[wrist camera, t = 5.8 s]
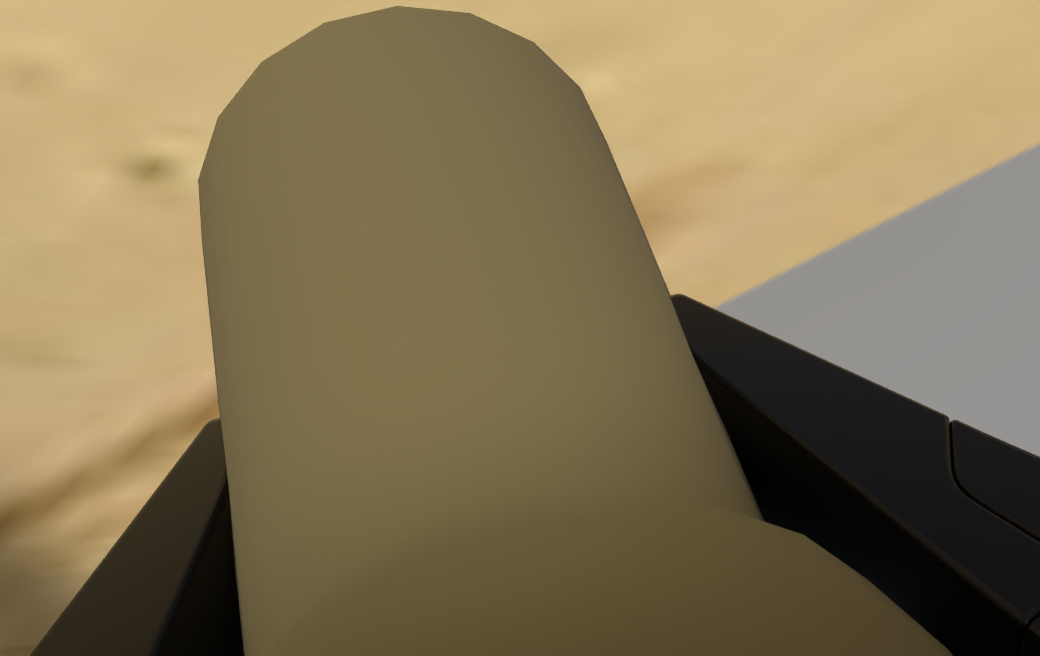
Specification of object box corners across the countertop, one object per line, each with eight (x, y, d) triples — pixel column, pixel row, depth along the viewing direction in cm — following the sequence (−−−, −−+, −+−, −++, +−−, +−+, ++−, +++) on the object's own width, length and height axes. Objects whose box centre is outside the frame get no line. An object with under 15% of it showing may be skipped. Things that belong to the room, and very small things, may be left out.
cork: (682, 228, 14) (1410, 1135, 5) (396, 440, 15) (550, 1483, 6) (444, -102, 10) (1443, 920, 1) (97, 208, 11) (-594, 1839, 3)
